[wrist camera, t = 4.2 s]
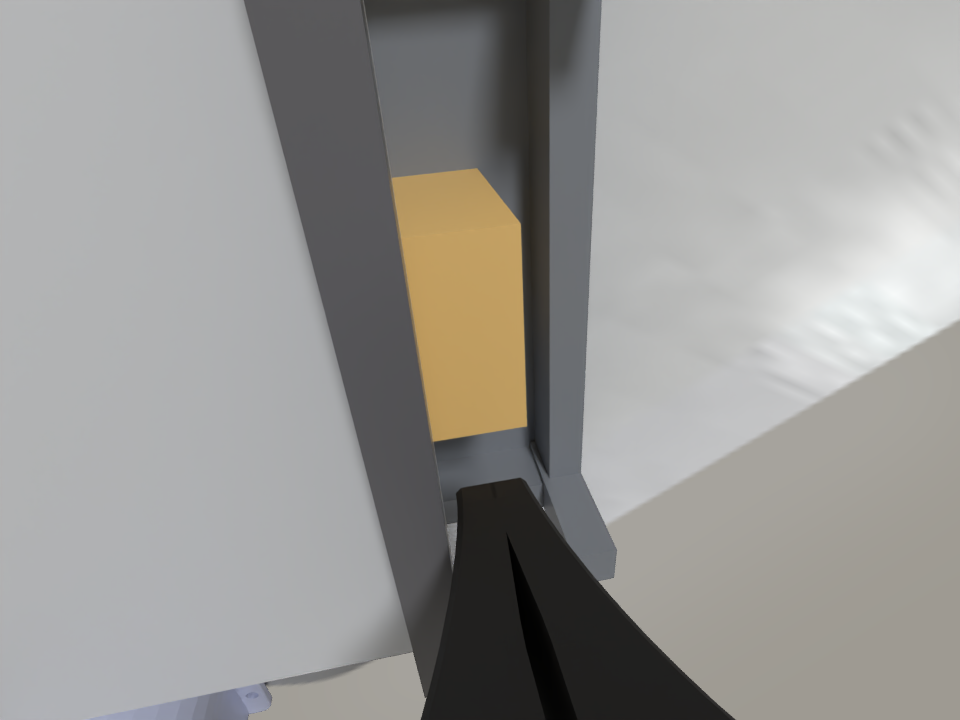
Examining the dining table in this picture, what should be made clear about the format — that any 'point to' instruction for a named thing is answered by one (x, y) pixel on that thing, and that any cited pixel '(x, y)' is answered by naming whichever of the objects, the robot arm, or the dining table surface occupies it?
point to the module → (465, 300)
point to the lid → (204, 358)
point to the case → (512, 209)
